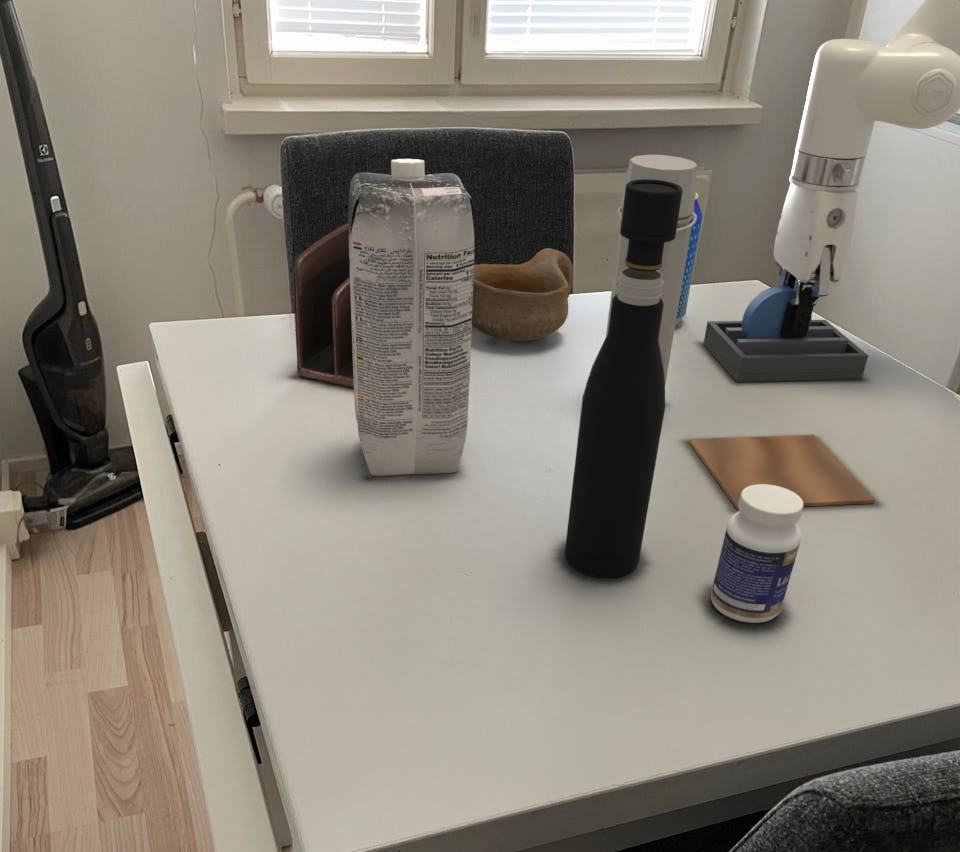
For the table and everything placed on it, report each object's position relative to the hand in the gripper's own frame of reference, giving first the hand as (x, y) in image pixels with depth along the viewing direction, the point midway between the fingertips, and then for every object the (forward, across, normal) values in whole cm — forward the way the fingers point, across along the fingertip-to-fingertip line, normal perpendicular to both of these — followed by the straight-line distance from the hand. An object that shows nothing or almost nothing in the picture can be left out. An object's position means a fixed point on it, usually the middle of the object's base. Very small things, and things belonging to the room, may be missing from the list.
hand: (788, 331), depth 121 cm
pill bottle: (+4, -50, +24) cm, 56 cm away
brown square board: (+4, -28, +12) cm, 31 cm away
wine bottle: (+4, -42, +34) cm, 54 cm away
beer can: (+4, +15, +12) cm, 20 cm away
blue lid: (+2, 0, 0) cm, 2 cm away
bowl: (+4, +12, +31) cm, 33 cm away
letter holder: (+4, +4, +50) cm, 51 cm away
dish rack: (+4, 0, 0) cm, 4 cm away
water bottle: (+4, -12, +23) cm, 26 cm away
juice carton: (+4, -23, +49) cm, 54 cm away
